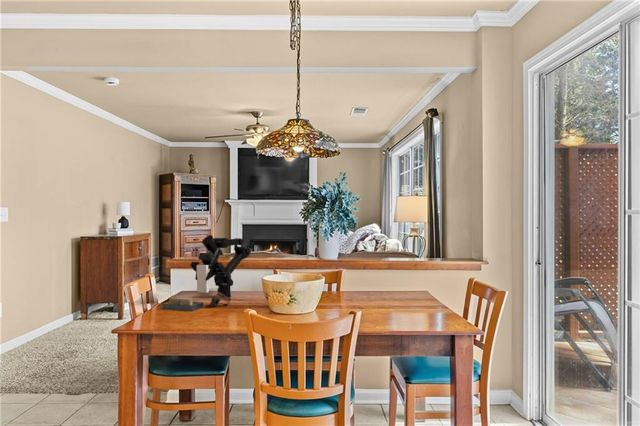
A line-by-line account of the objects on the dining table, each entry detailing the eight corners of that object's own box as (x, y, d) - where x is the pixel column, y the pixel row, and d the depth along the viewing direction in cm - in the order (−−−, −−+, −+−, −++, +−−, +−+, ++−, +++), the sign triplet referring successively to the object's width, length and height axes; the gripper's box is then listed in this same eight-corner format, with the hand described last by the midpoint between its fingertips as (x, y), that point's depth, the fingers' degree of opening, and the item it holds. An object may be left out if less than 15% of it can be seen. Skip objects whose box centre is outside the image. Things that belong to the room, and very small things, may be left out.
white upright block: (199, 291, 247) (198, 264, 246) (208, 292, 244) (208, 265, 244) (197, 291, 245) (196, 265, 245) (206, 292, 243) (206, 265, 243)
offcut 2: (182, 308, 229) (182, 298, 229) (192, 309, 227) (192, 298, 227) (179, 309, 227) (179, 299, 227) (189, 310, 225) (189, 299, 225)
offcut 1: (172, 307, 231) (171, 297, 231) (181, 308, 229) (181, 298, 229) (169, 308, 229) (169, 298, 229) (178, 309, 227) (178, 298, 227)
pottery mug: (212, 305, 241) (220, 291, 242) (227, 314, 238) (235, 300, 239) (202, 304, 229) (211, 289, 230) (218, 313, 227) (227, 298, 228)
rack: (175, 306, 238) (175, 299, 238) (204, 308, 231) (204, 302, 231) (161, 310, 228) (161, 303, 228) (191, 313, 222) (191, 306, 222)
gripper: (192, 246, 252) (179, 269, 242) (221, 247, 245) (209, 271, 235) (201, 259, 259) (189, 282, 249) (230, 260, 252) (218, 284, 242)
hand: (201, 279), depth 243 cm, fingers closed on white upright block, 6 cm apart
